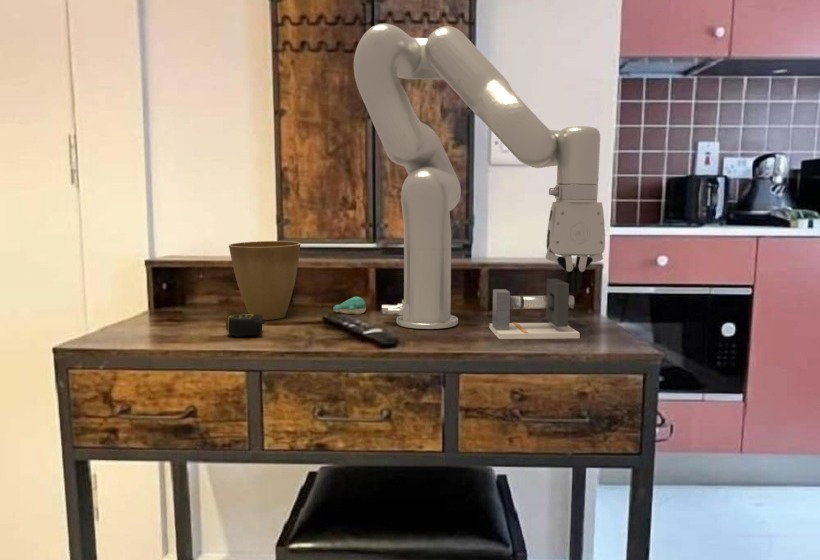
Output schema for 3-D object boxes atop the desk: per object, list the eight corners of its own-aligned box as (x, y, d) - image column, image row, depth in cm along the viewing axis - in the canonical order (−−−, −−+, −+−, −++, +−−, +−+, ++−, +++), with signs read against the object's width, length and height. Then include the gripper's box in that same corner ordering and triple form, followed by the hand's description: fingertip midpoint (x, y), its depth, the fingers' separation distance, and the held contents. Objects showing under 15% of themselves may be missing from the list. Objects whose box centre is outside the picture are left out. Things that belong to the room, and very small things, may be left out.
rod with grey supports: (496, 330, 123) (496, 292, 122) (492, 326, 127) (493, 289, 126) (574, 329, 124) (576, 292, 123) (568, 325, 128) (569, 289, 127)
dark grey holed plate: (557, 326, 121) (558, 284, 120) (545, 318, 129) (546, 278, 128) (567, 326, 121) (569, 283, 120) (555, 318, 129) (557, 278, 128)
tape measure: (262, 338, 121) (262, 318, 120) (224, 340, 119) (223, 319, 119) (264, 331, 127) (264, 312, 127) (228, 332, 126) (228, 313, 126)
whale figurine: (367, 315, 145) (366, 298, 144) (333, 316, 144) (333, 299, 143) (365, 311, 150) (365, 294, 150) (333, 311, 149) (332, 295, 149)
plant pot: (245, 310, 149) (243, 240, 147) (309, 311, 148) (308, 241, 146) (220, 323, 134) (217, 245, 132) (291, 324, 133) (289, 246, 131)
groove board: (499, 339, 120) (499, 333, 120) (489, 328, 130) (489, 322, 130) (579, 338, 121) (579, 332, 121) (563, 327, 131) (564, 322, 130)
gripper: (542, 194, 118) (539, 294, 121) (623, 195, 119) (618, 294, 121) (532, 194, 126) (529, 288, 128) (608, 195, 127) (604, 288, 129)
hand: (572, 291), depth 125 cm, fingers closed
